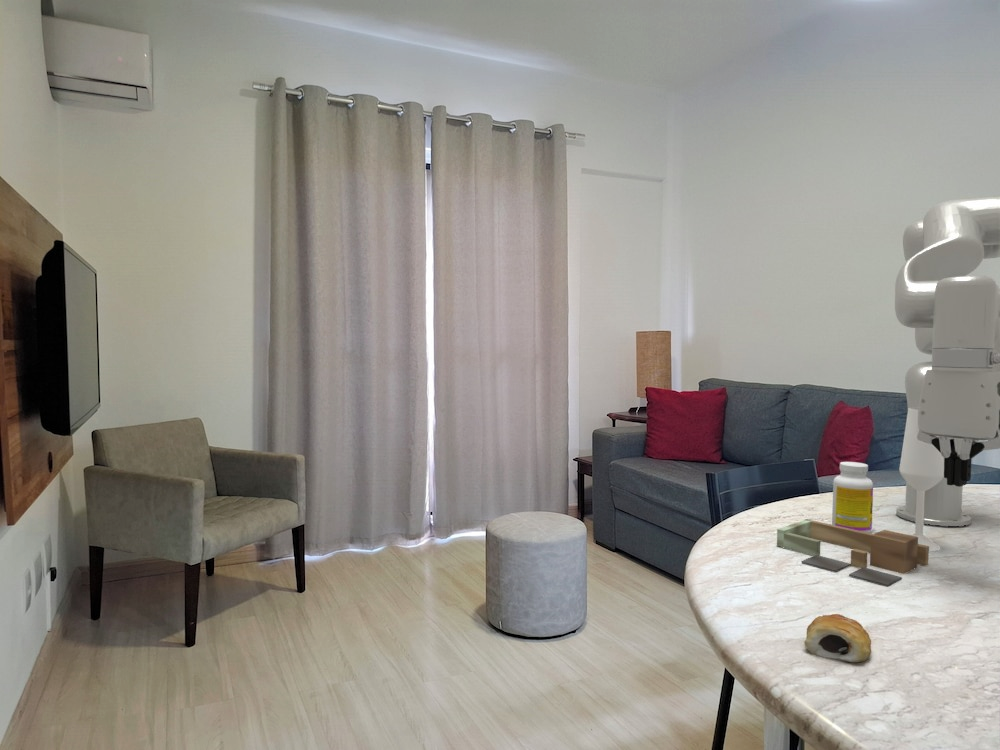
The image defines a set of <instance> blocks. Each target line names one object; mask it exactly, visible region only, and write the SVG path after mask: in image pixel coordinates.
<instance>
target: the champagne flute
mask: <svg viewBox="0 0 1000 750" xmlns="http://www.w3.org/2000/svg"><path fill="white" fill-rule="evenodd" d="M918 410H919V408H908V407H907V415H906V422H905V428H904V434H903V435H904V436H903V441H902V442H903V443H902V449H901V454H900V455H901V456H900V462H899V469H898V470H899V473H900V475H901V477H902V478H903V479H904V481H905V482H907V483H908V484H909V485H910V486H911V487H913V488H914V489H916V490H917V499H916V522H915V527H914V533H913V534H911V536H916V537H918V544H921V545H925V546H929V552H936V551H935V550H938V551H940V550H941V549H940V547H941V546H939V545H938V544H937V543H935V542H934V541H932V540H931V539H930V538H928V537H926V536H925V535H924V524H923V520H924V496H925V491H926V490H929V489H930V488H932V487H933V486H935V485H936V484H938V483H939V482H940V481H941V480H942V478H943V477H944V458H943V456H942V455H941V453H940V452H939V451H938V450H937V449H936V448H935V447H934V446H933V445H932V444H928V443H925V442H922V441H919V440H918V439H917V435H918V432H919V429H918ZM936 437H939V436H936ZM939 549H940V550H939Z"/></svg>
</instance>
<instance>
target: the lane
mask: <svg viewBox="0 0 1000 750" xmlns="http://www.w3.org/2000/svg"><path fill="white" fill-rule="evenodd" d="M873 534H874V533H872V532H871V533H867V532H862V531H858V530H853V529H849V528H844V527H840V526H835V525H832V523H831V524H830V523H829V524H828V523H826V522H822V521H818V520H817V521H816V520H813V519H803V520H801V521H798V522H795V523H792V524H789V525H785V526H784V527H783V526H782V527H780V528H777V529H776V547H778V546H781V547H780V548H782V547H784V548H783V549H786V548H787V549H786V550H789V549H791V550H790V551H793V550H795V551H794V552H797V551H798V552H797V553H801V552H802V554H805V553H806V554H805V555H809V556H810V557H808V558H806V559H803V560H801V562H802V563H801V564H803V565H807V566H808V565H809V566H811V567H815V568H818V569H822V570H826V571H829V572H832V573H838V572H840V571H842V570H844V569H846V568H849V567H850V566H851V567H854V568H858V569H857V570H855V571H853V572H851V573H848V577H852V578H855V579H858V580H861V581H866V582H870V583H872V584H876V585H879V586H883V587H884V586H885V587H889V586H891V585H894V584H895V583H898V582H899V581H901V580H902V576H900V575H899V576H898V575H895V574H892V573H888V572H884V571H880V570H876V569H872V568H868V553H870V549H871V535H873ZM821 542H825V543H829V544H833V545H836V546H841V547H846V548H849V549H851V550H850V562H849V563H848V562H845V561H841V560H838V559H833V558H829V557H826V556H824V555H821ZM929 556H930V551H929V546H925V545H921V544H918V551H917V566H919V565H920V566H922V567H923V566H924V567H927V566H929V560H930V559H929Z"/></svg>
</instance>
